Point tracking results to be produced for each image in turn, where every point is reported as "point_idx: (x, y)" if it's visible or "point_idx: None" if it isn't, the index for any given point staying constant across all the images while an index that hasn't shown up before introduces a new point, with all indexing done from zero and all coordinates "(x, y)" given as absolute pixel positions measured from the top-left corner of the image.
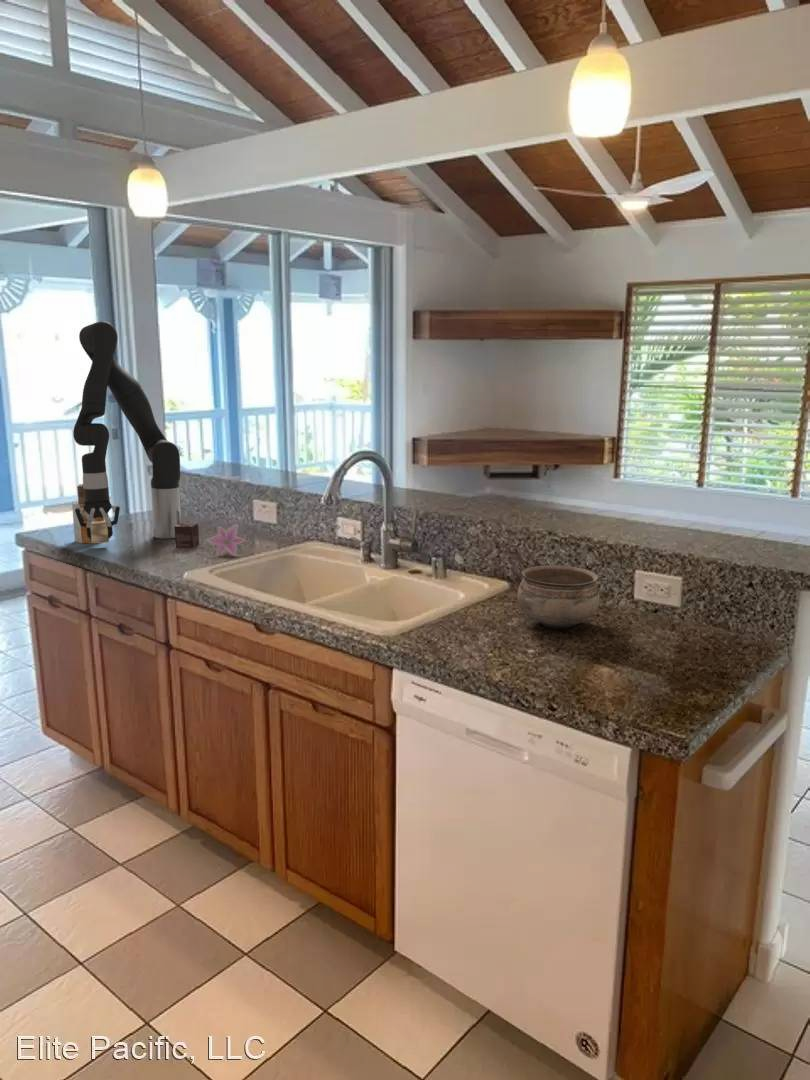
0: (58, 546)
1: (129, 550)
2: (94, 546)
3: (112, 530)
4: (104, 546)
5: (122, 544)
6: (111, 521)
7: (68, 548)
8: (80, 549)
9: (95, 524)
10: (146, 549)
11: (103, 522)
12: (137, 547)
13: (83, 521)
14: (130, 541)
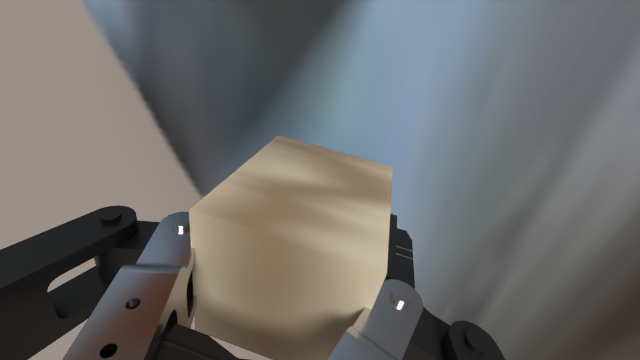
0: (90, 9)
1: (458, 299)
2: (299, 114)
3: (410, 266)
4: (357, 144)
5: (489, 137)
6: (410, 353)
7: (160, 101)
8: (224, 158)
9: (239, 345)
10: (553, 324)
11: (318, 317)
12: (535, 263)
13: (103, 246)
14: (611, 45)
